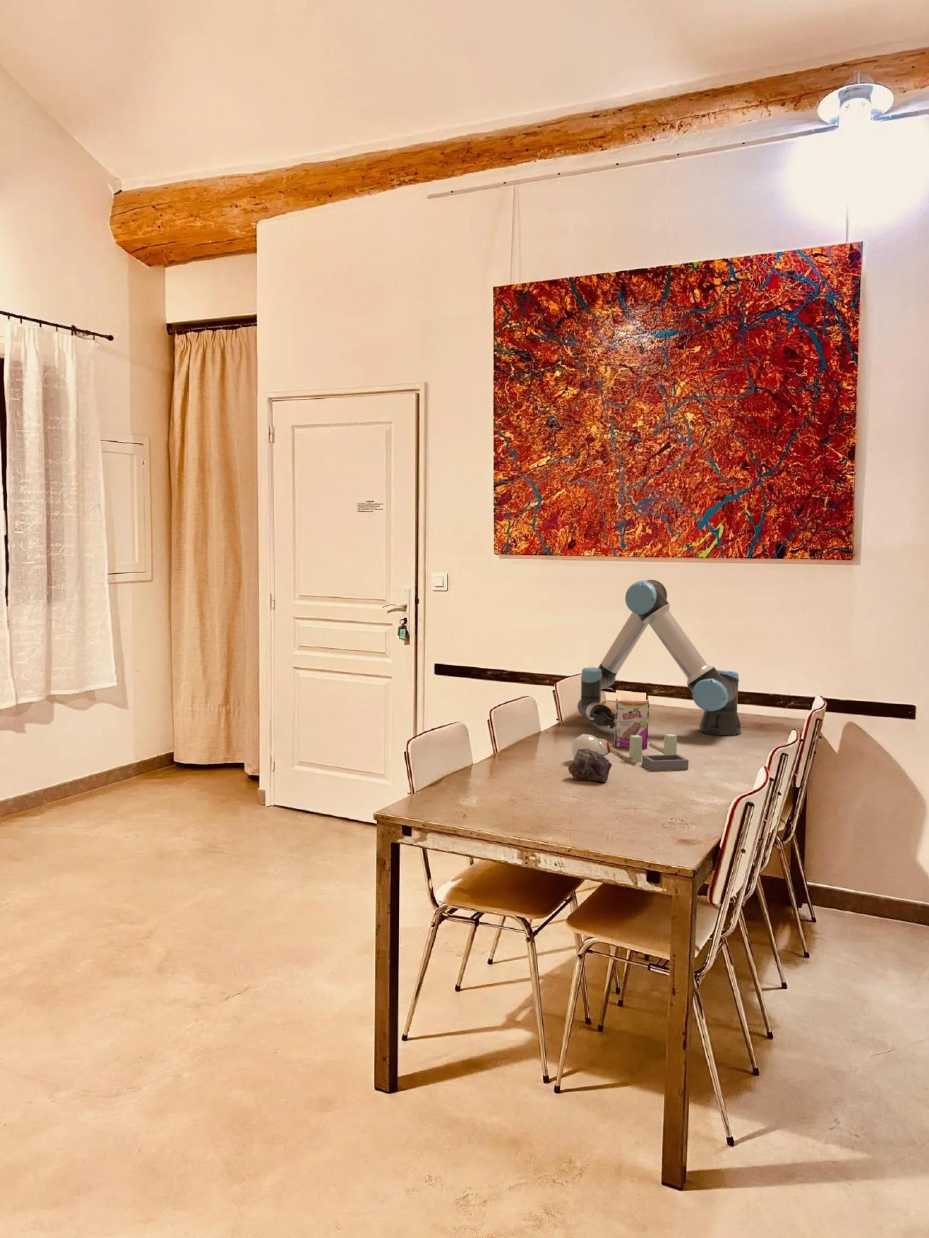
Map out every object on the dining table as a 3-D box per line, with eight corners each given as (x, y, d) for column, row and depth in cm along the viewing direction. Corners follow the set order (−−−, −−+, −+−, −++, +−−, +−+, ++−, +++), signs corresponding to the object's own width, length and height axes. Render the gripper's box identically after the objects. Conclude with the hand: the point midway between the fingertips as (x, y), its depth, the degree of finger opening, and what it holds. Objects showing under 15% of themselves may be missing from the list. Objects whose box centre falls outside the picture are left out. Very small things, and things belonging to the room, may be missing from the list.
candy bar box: (614, 748, 329) (616, 700, 327) (613, 745, 334) (615, 698, 332) (648, 749, 328) (649, 701, 326) (646, 746, 333) (648, 699, 331)
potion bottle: (573, 769, 304) (597, 766, 316) (596, 755, 299) (619, 753, 311) (560, 743, 307) (584, 741, 319) (583, 729, 303) (607, 727, 314)
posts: (672, 757, 316) (673, 733, 315) (676, 760, 313) (677, 735, 312) (629, 759, 313) (629, 735, 312) (632, 761, 310) (633, 737, 309)
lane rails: (652, 744, 335) (652, 741, 335) (685, 762, 310) (685, 759, 309) (603, 746, 331) (603, 743, 331) (633, 765, 306) (633, 761, 306)
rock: (601, 789, 281) (612, 780, 290) (606, 761, 280) (617, 753, 288) (564, 778, 286) (576, 769, 295) (569, 750, 285) (581, 743, 293)
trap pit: (677, 763, 309) (677, 754, 309) (688, 769, 301) (688, 760, 301) (642, 764, 306) (642, 755, 306) (652, 771, 299) (652, 761, 298)
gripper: (615, 723, 360) (640, 736, 337) (582, 724, 357) (604, 738, 334) (616, 703, 359) (640, 715, 336) (582, 704, 357) (605, 716, 334)
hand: (622, 726), depth 335 cm, fingers closed
